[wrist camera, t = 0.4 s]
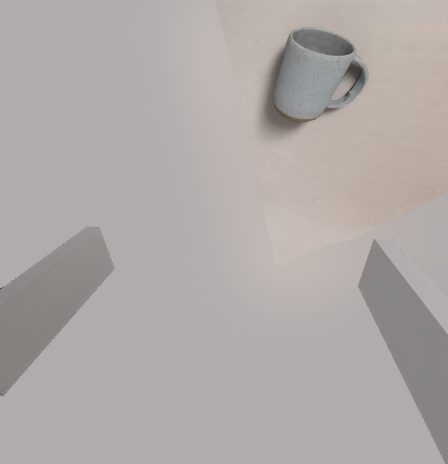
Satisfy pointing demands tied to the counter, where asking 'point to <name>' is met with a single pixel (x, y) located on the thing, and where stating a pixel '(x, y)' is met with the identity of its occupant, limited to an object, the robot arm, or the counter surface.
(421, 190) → the counter surface
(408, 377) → the robot arm
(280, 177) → the counter surface
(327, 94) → the ceramic mug
